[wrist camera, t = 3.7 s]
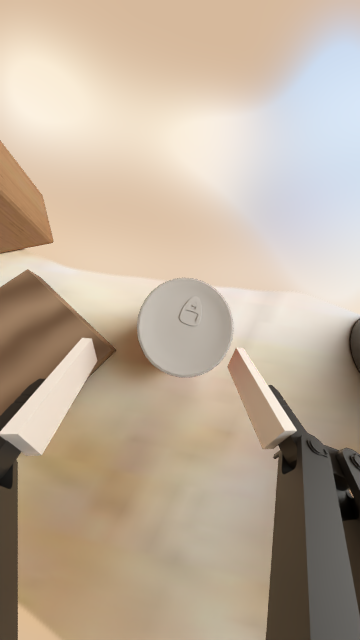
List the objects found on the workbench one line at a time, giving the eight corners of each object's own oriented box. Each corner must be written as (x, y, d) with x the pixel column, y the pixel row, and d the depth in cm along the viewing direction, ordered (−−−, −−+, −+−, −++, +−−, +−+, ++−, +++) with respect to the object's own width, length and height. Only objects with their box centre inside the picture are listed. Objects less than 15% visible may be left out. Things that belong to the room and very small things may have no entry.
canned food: (199, 314, 22) (232, 281, 12) (198, 365, 21) (237, 380, 10) (152, 310, 22) (142, 270, 11) (146, 363, 20) (128, 377, 9)
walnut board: (116, 349, 20) (111, 349, 18) (7, 456, 16) (-15, 471, 14) (40, 277, 21) (27, 269, 19) (-82, 360, 17) (-114, 361, 15)
